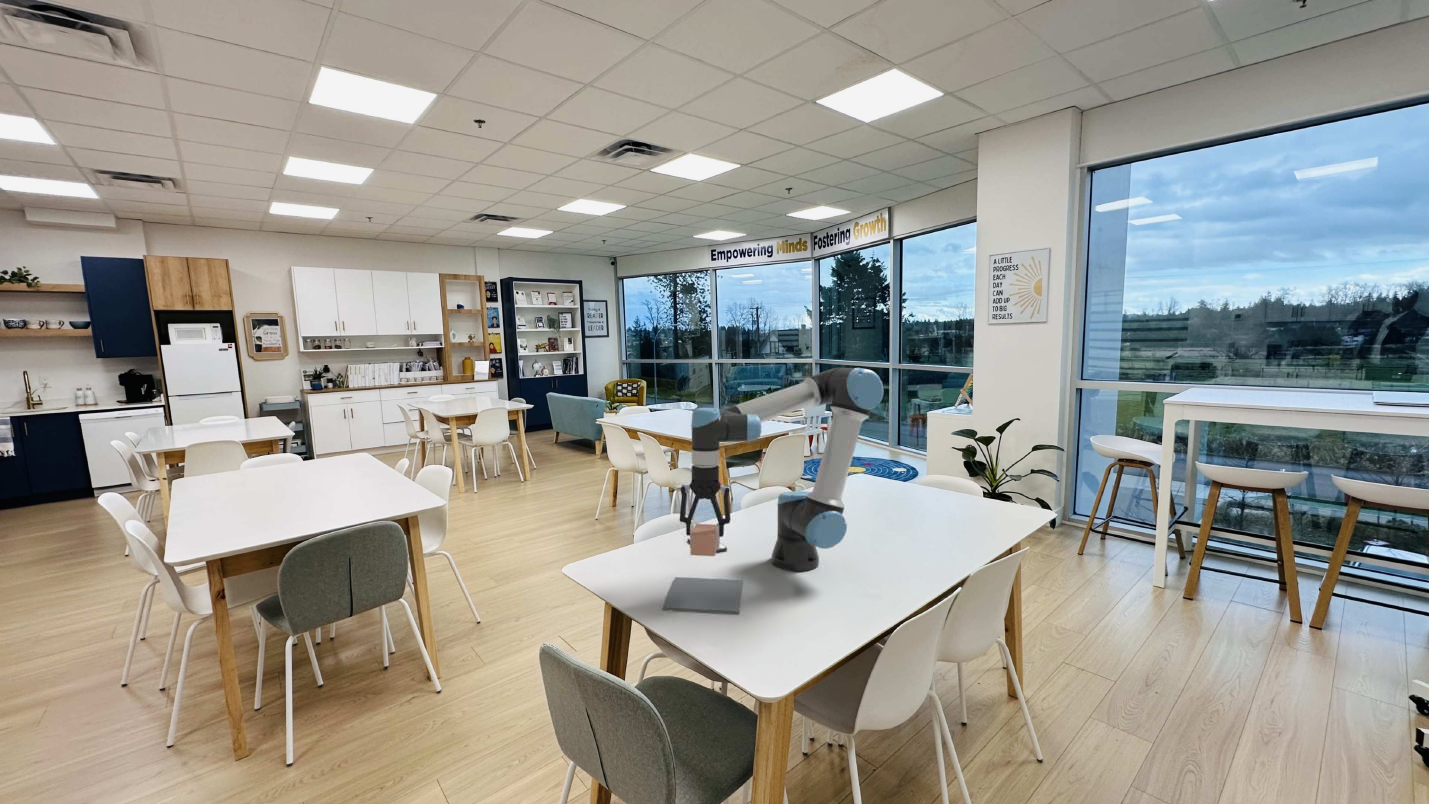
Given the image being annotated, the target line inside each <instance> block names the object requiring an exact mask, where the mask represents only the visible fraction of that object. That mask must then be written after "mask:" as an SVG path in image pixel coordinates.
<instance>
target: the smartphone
mask: <svg viewBox="0 0 1429 804" xmlns="http://www.w3.org/2000/svg"><path fill="white" fill-rule="evenodd" d="M687 542H688V543H689V544H690V537H689V538H687ZM727 551H728V548H727V546H725V545H724V544H722V543H721V542H720V547H719V550H718V549H717V550H716V553H715V554H720V552H721V553H726V552H727Z"/></svg>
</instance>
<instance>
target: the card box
mask: <svg viewBox="0 0 1429 804" xmlns="http://www.w3.org/2000/svg"><path fill="white" fill-rule="evenodd" d="M716 525H717V524H708V523H707V524H706V523H695V524H694V529H693V531H692V533H691V548H690V553H689V554H690V556H700V557H702V556H703V557H704V556H705V557H715V556H716V554H717V553H716V550H717V549H716Z"/></svg>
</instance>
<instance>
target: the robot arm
mask: <svg viewBox="0 0 1429 804" xmlns="http://www.w3.org/2000/svg"><path fill="white" fill-rule="evenodd" d="M884 390H885V389H884V385H883V381H882V380H881V378H880V376H879V375H878V373H876V371H873V370H871V369H867V368H861V367H836V368H835V367H834V368H831V369H829V370H828V369H827V370H825V371H822V372H819V373H817V374H815V375H812V376H809V377H806V378H804V379H803V382H801V383H798V384H795V385H792V386H789V387H787V388H786V387H785V388H783V389H780V390H777V391H774V392H771V393H767V394H766V395H765V394H764V395H762V396H759V397H755V398H753V399H751V400H747V401H744V402H741V403H739V404H735V405H733V406H730V407H729V406H728V407H726V408H724V409H723V408H715V407H714V408H713V407H700V408H698V407H697V408H694V410H693V411H692V413H691V425H690V426H691V464H692V466H691V479H690V480H691V481H690V483H689V484H682V485H681V487H680V493H681V499H680V500H681V501H680V512H679V522H680V523H684V524H685V525H686V526H685V532H686V533H685V534H686V536H689V538H690V543H689V549H691V533H692V531H693V529H694V527H695V522H693V521H692V520H693V518H694V516H695V512H696V509H697V507H698V504H699V501H700V500H704V499H705V500H710V503H711V505H712V508H713V510H714V514H715V516H716V519H717V523H716V524H715V525H716V549H718V550H719V547H720V543H721V540H720V539H721V538H723V537H724V535H725V533H724V532H725V525H728V524H730V523H731V510H730V499H729V497H730V496H729V493H730V491H731V487H730V486H729V485H727V486H725V485H722V484H721V482H720V465H719V464H720V444H721V443H735V442H739V443H741V442H747V443H748V442H752V441H753V442H754V441H757V440H758V439H760V437H761V434H762V423H763V422H766V421H769V420H772V419H775V418H777V417H778V418H779V417H781V416H784V415H787V414H790V413H792V412H795V411H798V410H801V409H804V408H807V407H809V406H812V407H815V408H816V407H819V406H823V405H830V409H831V411H832V413H833V415H832V416H833V417H832V420H831V422H830V423H831V424H830V427H829V431H828V435H827V438H826V442H825V445H824V449H823V452H822V456H821V459H820V463H819V467H818V471H817V475H816V479H815V481H814V485H813V488H812V491H803V490H795V491H793V490H792V491H786V492H782V493H780V494H779V495H778V498H777V534H776V535H777V537H776V540H775V541H776V542H775V544H774V547H773V549H772V553H771V563H772V564H773V566H775V567H777V568H779V569H782V570H785V571H793V572H804V571H811V570H813V569H816V568H817V567H819V565H820V557H819V553H818V549H817V548H819V549H823V550H827V549H828V550H829V549H830V548H834V547H835V546H836V545H838V544H840V543H841V541H843V540H844V537H845V535H846V534H847V527H848V525H847V521H846V518H845V517H844V510H845V504H844V502H843V500H842V497H843V493H844V490H845V486H846V483H847V480H848V475H849V472H850V468H851V465H852V462H853V458H854V457H853V456H854V453H855V451H856V448H857V447H856V446H857V442H858V438H859V434H860V431H861V427H862V424H863V422H864V421H865V420H867V419H869V418H870V415H871V411H872V409H875V408H876V407H877V406H879V405H880V403H881V402H882V401H883V397H884ZM690 490H691V491H692V493H693V494H694V499H693V501H692V504H691V507H690V510H689V513H688V515H687V516H686V513H687V502H688V494H689V493H690ZM719 491H721V495H723V498H722V499H723V506H724V517H723V514H722V510H721V508H720V505H719V502H718V499H717V493H718V492H719Z"/></svg>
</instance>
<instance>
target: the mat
mask: <svg viewBox="0 0 1429 804" xmlns="http://www.w3.org/2000/svg"><path fill="white" fill-rule="evenodd" d="M743 582H744V580H743V579H728V578H727V579H726V578H725V579H724V578H703V577H701V578H700V577H681V576H675V577H674V579H673V582H672V584H671V587H670V589H669V592H668V593H667V596H666V598H665V600H664V603H663V604H662V611H668V610H672V611H671V612H673V610H674V612H686V611H690V613H705V614H707V613H708V614H727V615H729V614H730V615H739V614H740V605H741V600H742V599H741V598H742V590H743V584H744V583H743Z"/></svg>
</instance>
